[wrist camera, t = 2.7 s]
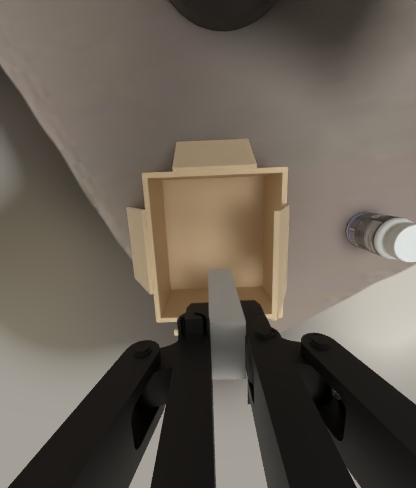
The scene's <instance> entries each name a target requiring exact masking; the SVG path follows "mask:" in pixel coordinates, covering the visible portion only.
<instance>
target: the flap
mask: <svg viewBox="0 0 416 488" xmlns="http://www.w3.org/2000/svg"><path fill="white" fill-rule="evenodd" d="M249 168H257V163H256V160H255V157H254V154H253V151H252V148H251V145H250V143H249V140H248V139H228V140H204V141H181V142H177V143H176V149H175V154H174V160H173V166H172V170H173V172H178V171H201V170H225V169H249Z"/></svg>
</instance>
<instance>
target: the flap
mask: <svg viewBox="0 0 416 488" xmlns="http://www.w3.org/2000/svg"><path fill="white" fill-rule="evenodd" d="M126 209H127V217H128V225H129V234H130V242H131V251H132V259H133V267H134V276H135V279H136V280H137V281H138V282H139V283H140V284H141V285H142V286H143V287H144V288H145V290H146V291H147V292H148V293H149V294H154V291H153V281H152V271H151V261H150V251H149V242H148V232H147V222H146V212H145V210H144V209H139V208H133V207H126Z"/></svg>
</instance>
